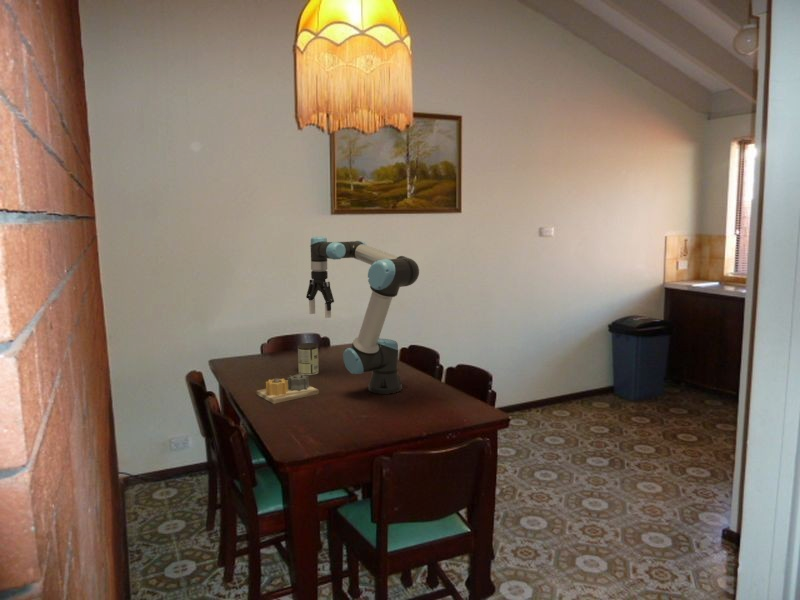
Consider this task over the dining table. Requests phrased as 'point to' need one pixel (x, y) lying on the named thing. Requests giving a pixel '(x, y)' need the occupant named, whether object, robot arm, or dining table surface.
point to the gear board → (291, 389)
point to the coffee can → (308, 359)
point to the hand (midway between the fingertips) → (320, 315)
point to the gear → (277, 387)
